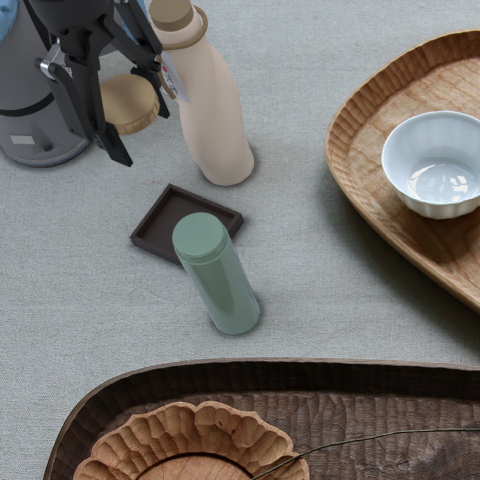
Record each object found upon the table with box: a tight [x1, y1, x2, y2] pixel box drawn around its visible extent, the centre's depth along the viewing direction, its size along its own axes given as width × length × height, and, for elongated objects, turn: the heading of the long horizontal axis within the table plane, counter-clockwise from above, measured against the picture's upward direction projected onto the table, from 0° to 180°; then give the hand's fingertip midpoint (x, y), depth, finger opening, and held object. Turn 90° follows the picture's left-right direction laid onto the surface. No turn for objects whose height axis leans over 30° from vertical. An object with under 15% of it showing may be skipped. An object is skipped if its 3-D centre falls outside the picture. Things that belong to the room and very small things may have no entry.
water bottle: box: [148, 0, 255, 187], centre depth 106 cm, size 10×9×28 cm
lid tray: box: [128, 183, 245, 268], centre depth 114 cm, size 12×10×2 cm
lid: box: [99, 73, 160, 136], centre depth 91 cm, size 7×7×2 cm
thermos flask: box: [172, 212, 261, 336], centre depth 101 cm, size 6×6×19 cm
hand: (141, 136), depth 96 cm, fingers closed on lid, 7 cm apart
